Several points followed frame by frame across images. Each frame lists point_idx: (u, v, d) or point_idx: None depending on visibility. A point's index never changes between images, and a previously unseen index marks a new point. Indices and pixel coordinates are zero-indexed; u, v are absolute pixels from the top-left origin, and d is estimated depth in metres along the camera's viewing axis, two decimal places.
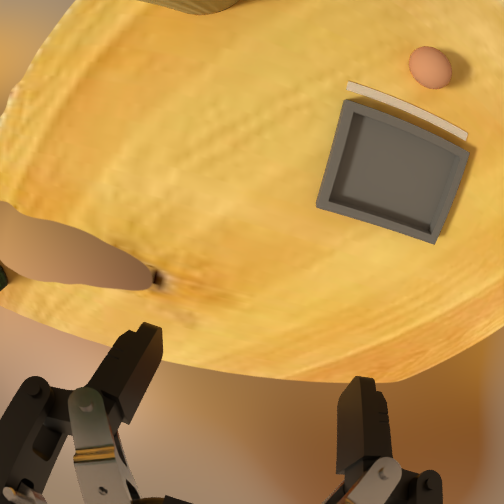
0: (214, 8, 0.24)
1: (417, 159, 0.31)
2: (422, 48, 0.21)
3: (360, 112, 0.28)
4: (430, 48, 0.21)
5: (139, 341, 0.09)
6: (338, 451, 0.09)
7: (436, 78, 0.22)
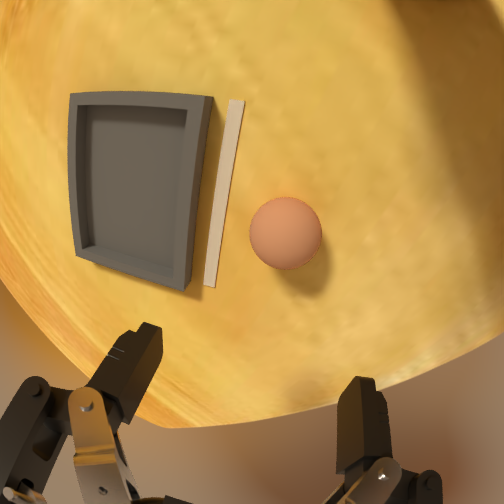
0: None
1: (155, 214, 0.26)
2: (313, 222, 0.20)
3: (188, 120, 0.20)
4: (314, 236, 0.20)
5: (139, 341, 0.09)
6: (338, 451, 0.09)
7: (259, 241, 0.20)
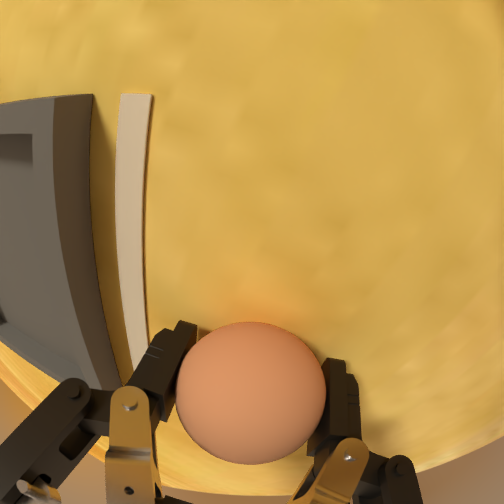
0: None
1: (49, 305, 0.13)
2: (308, 403, 0.08)
3: (35, 156, 0.07)
4: (308, 429, 0.08)
5: (178, 339, 0.10)
6: None
7: (189, 432, 0.08)
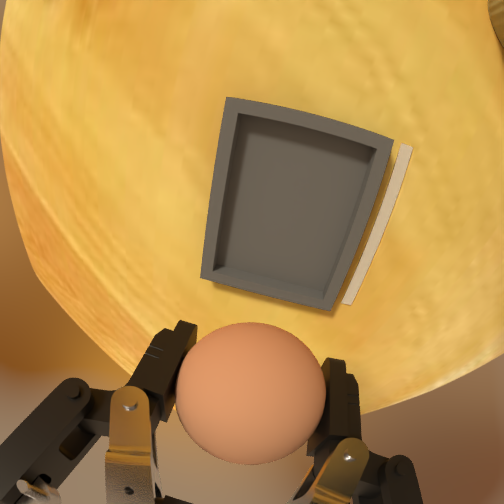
0: (501, 20, 0.10)
1: (313, 239, 0.27)
2: (308, 403, 0.08)
3: (376, 158, 0.21)
4: (308, 429, 0.08)
5: (178, 339, 0.10)
6: None
7: (189, 433, 0.08)
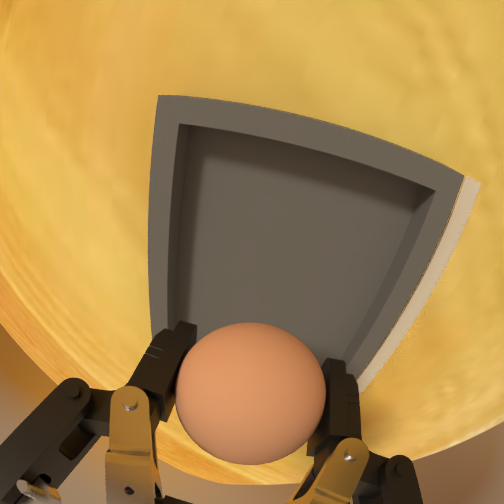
0: None
1: (314, 324, 0.17)
2: (308, 404, 0.08)
3: (433, 208, 0.11)
4: (308, 430, 0.08)
5: (178, 339, 0.10)
6: None
7: (189, 433, 0.08)
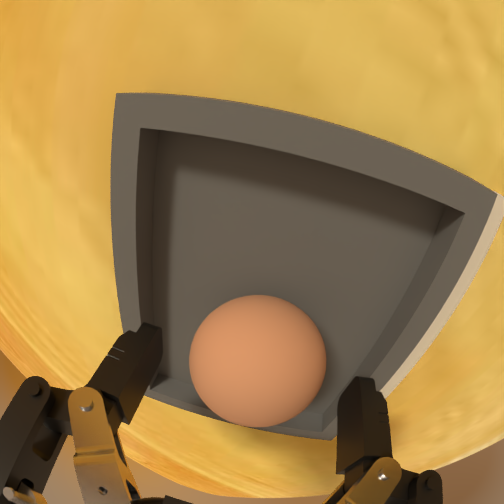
0: None
1: None
2: (311, 363, 0.09)
3: (460, 234, 0.08)
4: (311, 389, 0.09)
5: (139, 341, 0.09)
6: (338, 451, 0.09)
7: (203, 395, 0.09)
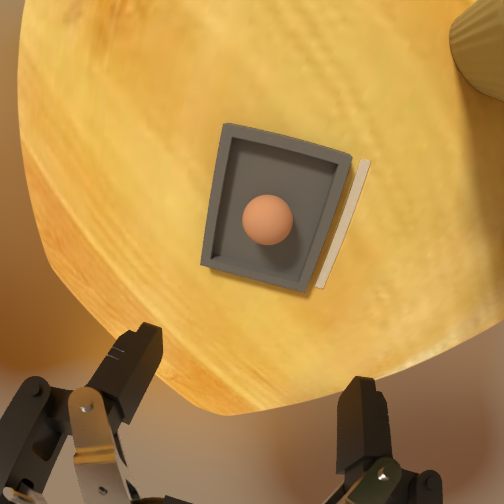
0: (458, 49, 0.18)
1: (289, 234, 0.35)
2: (285, 211, 0.29)
3: (338, 171, 0.29)
4: (286, 221, 0.29)
5: (139, 341, 0.09)
6: (338, 451, 0.09)
7: (249, 224, 0.30)
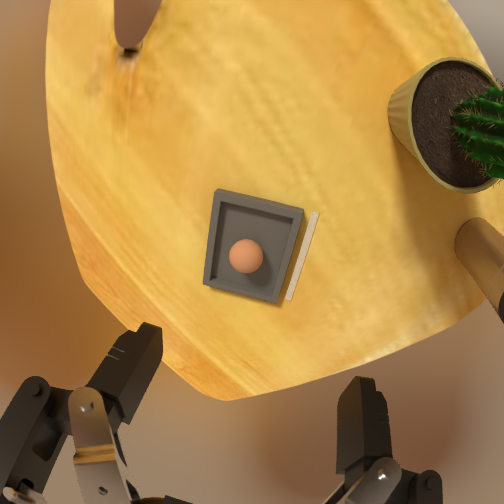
0: (390, 121, 0.34)
1: (263, 263, 0.50)
2: (257, 252, 0.45)
3: (293, 223, 0.44)
4: (257, 258, 0.45)
5: (139, 341, 0.09)
6: (338, 451, 0.09)
7: (232, 260, 0.45)
